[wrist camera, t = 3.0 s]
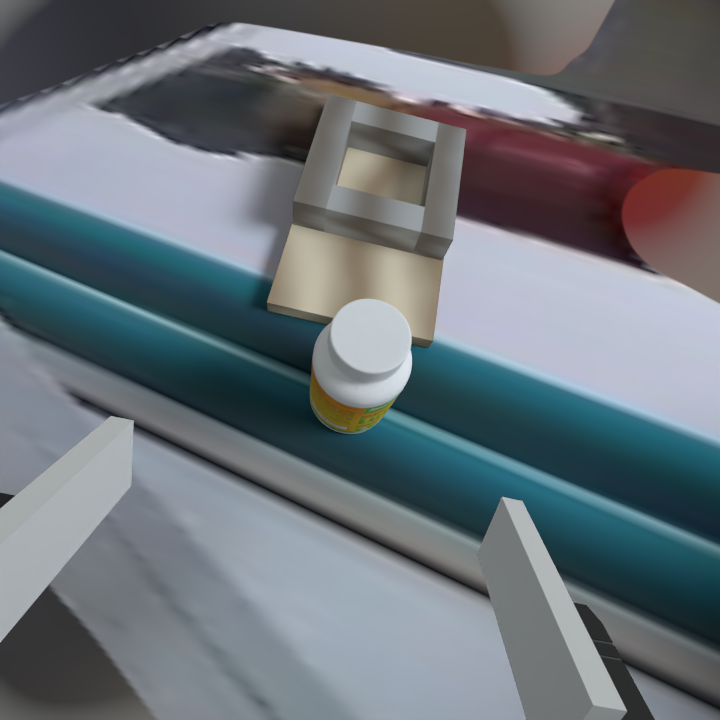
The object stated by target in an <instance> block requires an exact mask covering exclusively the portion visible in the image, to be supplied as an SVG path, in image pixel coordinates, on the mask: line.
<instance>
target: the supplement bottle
mask: <svg viewBox="0 0 720 720" xmlns="http://www.w3.org/2000/svg"><path fill="white" fill-rule="evenodd" d="M411 341H412V337H411V331H410V327H409V324H408V322H407V321H406V319H405V317H404V316H403V315H402V314H401V313H400V312H399V311H398V310H397V309H396V308H395V307H393V306H392V305H390V304H388V303H386V302H383V301H380V300H376V299H359V300H355V301H352V302H350V303H348V304H346V305H345V306H343V307H342V308H341V309H340V310H339V311H338V312H337V313H336V315H335V316H334V318H333V320H332V322H331V323H329V324H328V325H327V326H326V327H325V328H324V329H323V331H322V332H321V333H320V335H319V337H318V339H317V341H316V343H315V347H314V351H313V357H312V371H311V382H310V403H311V406H312V409H313V411H314V413H315V415H316V416H317V418H318V419H319V420H320V421H321V422H322V423H323V424H324V425H325V426H327V427H328V428H330V429H332V430H334V431H336V432H340V433H344V434H356V433H361V432H364V431H366V430H368V429H370V428H372V427H373V426H375V425H376V424H377V423H378V422H379V421H380V420H381V419H382V417H383V416H384V415H385V413H386V412H387V410H388V409H389V408H390V406H391V405H392V404H393V402H394V401H395V399H396V398H397V397H398V395H399V394H400V392H401V391H402V390H403V388H404V386H405V384H406V383H407V381H408V379H409V376H410V373H411V368H412V355H411V350H410V348H411Z"/></svg>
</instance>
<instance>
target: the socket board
mask: <svg viewBox="0 0 720 720" xmlns="http://www.w3.org/2000/svg"><path fill="white" fill-rule="evenodd" d="M465 136H466V129H462V128H458V127H454V126H450V125H446V124H443V123H439V122H435V121H431V120H427V119H423V118H419V117H416V116H412V115H408V114H404V113H400V112H396V111H392V110H389V109H385V108H381V107H377V106H373V105H369V104H365V103H362V102H358V101H354V100H350V99H346V98H342V97H338V96H335V95H331V94H328V97H327V100H326V103H325V106H324V109H323V112H322V115H321V118H320V121H319V124H318V127H317V130H316V133H315V136H314V139H313V142H312V145H311V148H310V151H309V154H308V157H307V160H306V163H305V166H304V169H303V172H302V175H301V178H300V181H299V184H298V187H297V190H296V193H295V196H294V199H293V223H292V226H291V229H290V232H289V235H288V238H287V241H286V244H285V247H284V251H283V254H282V257H281V260H280V263H279V266H278V269H277V272H276V275H275V278H274V281H273V285H272V288H271V291H270V294H269V297H268V300H267V308H268V311H271V312H275V313H279V314H284V315H288V316H292V317H297V318H301V319H305V320H310V321H314V322H318V323H323V324H327V325H328V324H329V323H331V322H332V320H333V318H334V316H335V315H336V313H337V312H338V311H339V310H340V309H341V308H342V307H343V306H345V305H346V304H348V303H350V302H352V301H355V300H359V299H376V300H380V301H383V302H386V303H388V304H390V305H392V306H393V307H395V308H396V309H397V310H398V311H399V312H400V313H401V314H402V315H403V316H404V317H405V319H406V321H407V322H408V324H409V327H410V331H411V337H412V341H411V344H414V345H418V346H422V347H427V348H428V347H429V346H430V345H431V343H432V342H433V337H434V329H435V322H436V314H437V306H438V298H439V291H440V283H441V275H442V267H443V260H444V256H445V254H446V252H447V250H448V248H449V246H450V245H451V243H452V241H453V235H454V227H455V218H456V210H457V202H458V194H459V185H460V177H461V169H462V161H463V152H464V144H465Z"/></svg>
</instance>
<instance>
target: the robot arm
mask: <svg viewBox="0 0 720 720" xmlns="http://www.w3.org/2000/svg"><path fill="white" fill-rule="evenodd" d="M133 423H134V421H133V420H128V419H123V418H118V417H113V416H110V417H109V418H108V419H107V420H105V421H104V422H103V423H102V424H101V425H100V426H98V427H97V428H96V429H95V430H94V431H92V432H91V433H90V434H89V435H88V436H86V437H85V438H84V439H83V440H82V441H80V442H79V443H78V444H77V445H76V446H74V447H73V448H72V449H71V450H70V451H68V452H67V453H66V454H65V455H64V456H62V457H61V458H60V459H59V460H58V461H56V462H55V463H54V464H53V465H52V466H51V467H49V468H48V469H47V470H46V471H45V472H43V473H42V474H41V475H40V476H39V477H37V478H36V479H35V480H34V481H33V482H31V483H30V484H29V485H28V486H27V487H25V488H24V489H23V490H22V491H21V492H19V493H18V494H17V495H16V496H14V495H9V494H4V493H0V642H1V641H2V640H3V638H4V637H5V636H6V635H7V634H8V632H9V631H10V630H11V629H12V628H13V627H14V625H15V624H16V623H17V622H18V621H19V619H20V618H21V617H22V616H23V615H24V613H25V612H26V611H27V610H28V609H29V607H30V606H31V605H32V604H33V603H34V601H35V600H36V599H37V598H38V597H39V596H40V594H41V593H42V592H43V591H44V590H45V588H46V587H47V586H48V585H49V584H50V582H51V581H52V580H53V579H54V578H55V576H56V575H57V574H58V573H59V572H60V570H61V569H62V568H63V567H64V566H65V564H66V563H67V562H68V561H69V560H70V558H71V557H72V556H73V555H74V554H75V552H76V551H77V550H78V549H79V548H80V546H81V545H82V544H83V543H84V542H85V540H86V539H87V538H88V537H89V536H90V534H91V533H92V532H93V531H94V530H95V528H96V527H97V526H98V525H99V524H100V522H101V521H102V520H103V519H104V518H105V516H106V515H107V514H108V513H109V512H110V510H111V509H112V508H113V507H114V506H115V504H116V503H117V502H118V501H119V500H120V498H121V497H122V496H123V495H124V494H125V492H126V491H127V490H128V489H129V488H130V486H131V477H132V450H133ZM477 555H478V558H479V562H480V565H481V568H482V572H483V575H484V579H485V582H486V585H487V589H488V592H489V595H490V599H491V602H492V605H493V609H494V612H495V615H496V619H497V622H498V625H499V629H500V632H501V635H502V639H503V642H504V646H505V649H506V652H507V656H508V659H509V662H510V666H511V669H512V672H513V676H514V679H515V682H516V686H517V689H518V692H519V696H520V699H521V702H522V706H523V709H524V713H525V716H526V719H527V720H655V719H654V718H653V716H652V714H651V712H650V710H649V708H648V707H647V705H646V703H645V701H644V699H643V697H642V696H641V694H640V692H639V690H638V688H637V686H636V685H635V683H634V681H633V679H632V677H631V675H630V674H629V672H628V670H627V668H626V666H625V664H624V662H621V657H620V655H619V653H618V651H617V650H616V648H615V646H613V645H612V640H611V639H610V637H609V635H608V633H607V631H606V629H605V628H604V626H603V624H602V622H601V621H600V620H599V619H598V618H597V617H596V616H595V614H594V613H593V612H592V611H591V610H590V609H589V608H588V606H587V605H583V604H578V603H573V602H572V600H571V598H570V596H569V594H568V592H567V590H566V588H565V586H564V584H563V582H562V580H561V578H560V576H559V574H558V572H557V570H556V568H555V566H554V564H553V562H552V560H551V558H550V556H549V554H548V552H547V550H546V548H545V546H544V544H543V541H542V539H541V537H540V535H539V533H538V531H537V529H536V527H535V525H534V523H533V521H532V519H531V517H530V515H529V513H528V511H527V509H526V507H525V505H524V503H523V501H519V500H514V499H510V498H505V497H502V498H501V500H500V503H499V505H498V507H497V510H496V512H495V514H494V517H493V519H492V521H491V524H490V526H489V528H488V530H487V533H486V535H485V537H484V540H483V542H482V544H481V547H480V549H479V551H478V554H477Z"/></svg>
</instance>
